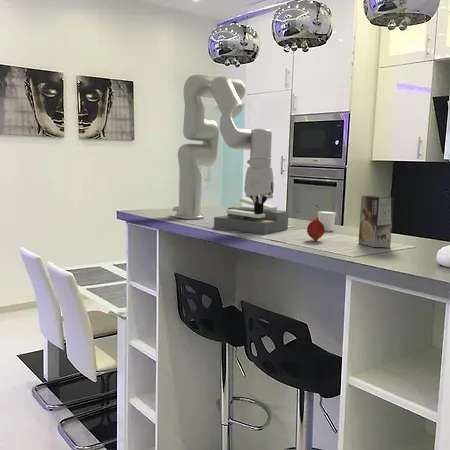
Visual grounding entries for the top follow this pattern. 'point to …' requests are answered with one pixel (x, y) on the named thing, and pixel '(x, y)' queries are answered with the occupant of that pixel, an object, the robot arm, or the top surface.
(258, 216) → the bar
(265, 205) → the rear rocker
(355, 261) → the top surface
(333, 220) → the white cup
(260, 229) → the switch console
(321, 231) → the onion
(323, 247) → the top surface
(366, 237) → the coffee box
